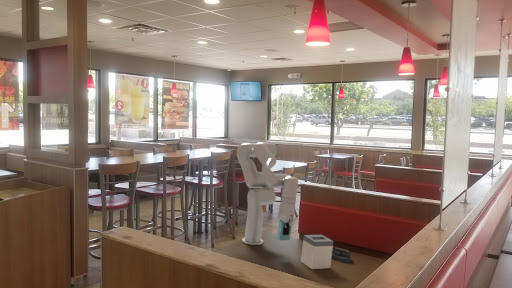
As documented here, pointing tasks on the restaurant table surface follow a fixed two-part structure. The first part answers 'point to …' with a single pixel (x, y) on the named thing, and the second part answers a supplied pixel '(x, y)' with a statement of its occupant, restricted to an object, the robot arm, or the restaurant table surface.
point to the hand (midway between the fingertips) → (284, 233)
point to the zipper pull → (341, 255)
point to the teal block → (280, 231)
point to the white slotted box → (316, 251)
